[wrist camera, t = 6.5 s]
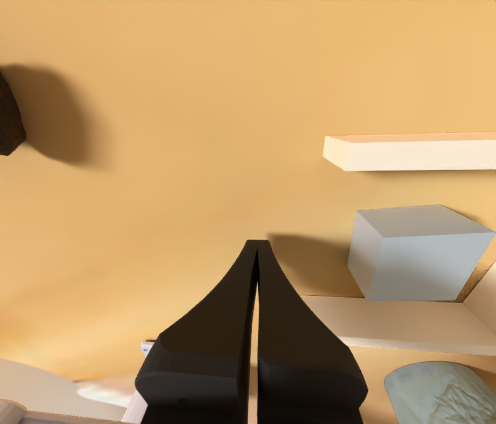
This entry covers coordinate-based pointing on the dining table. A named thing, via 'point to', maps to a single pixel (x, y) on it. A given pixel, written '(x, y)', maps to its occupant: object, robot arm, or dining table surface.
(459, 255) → the frosted grey cube
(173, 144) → the dining table surface
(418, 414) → the green embossed cup
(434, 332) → the cream u-shaped frame
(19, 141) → the dark brown elongated piece
